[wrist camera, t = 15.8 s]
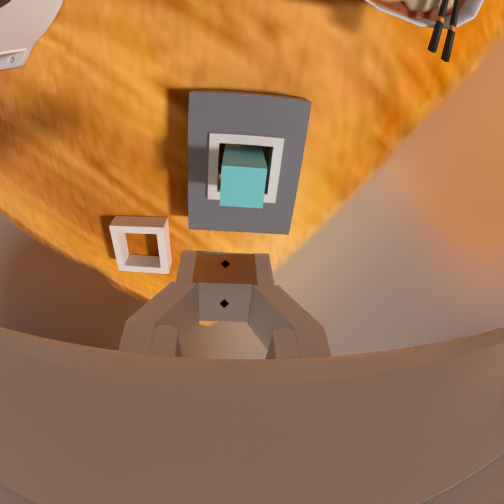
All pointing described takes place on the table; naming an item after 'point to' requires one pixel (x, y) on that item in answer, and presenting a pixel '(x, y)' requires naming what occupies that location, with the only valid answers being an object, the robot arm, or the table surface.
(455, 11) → the ramen bowl
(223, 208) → the socket block
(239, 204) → the plug
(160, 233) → the white square frame
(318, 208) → the table surface
